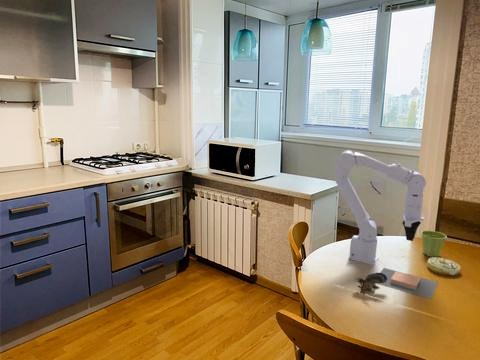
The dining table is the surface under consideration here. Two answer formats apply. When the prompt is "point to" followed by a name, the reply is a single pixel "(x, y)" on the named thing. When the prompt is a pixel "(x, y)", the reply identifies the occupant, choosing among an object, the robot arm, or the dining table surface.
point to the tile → (405, 280)
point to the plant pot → (432, 242)
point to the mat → (423, 289)
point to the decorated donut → (443, 266)
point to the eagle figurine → (371, 281)
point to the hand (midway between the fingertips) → (409, 240)
